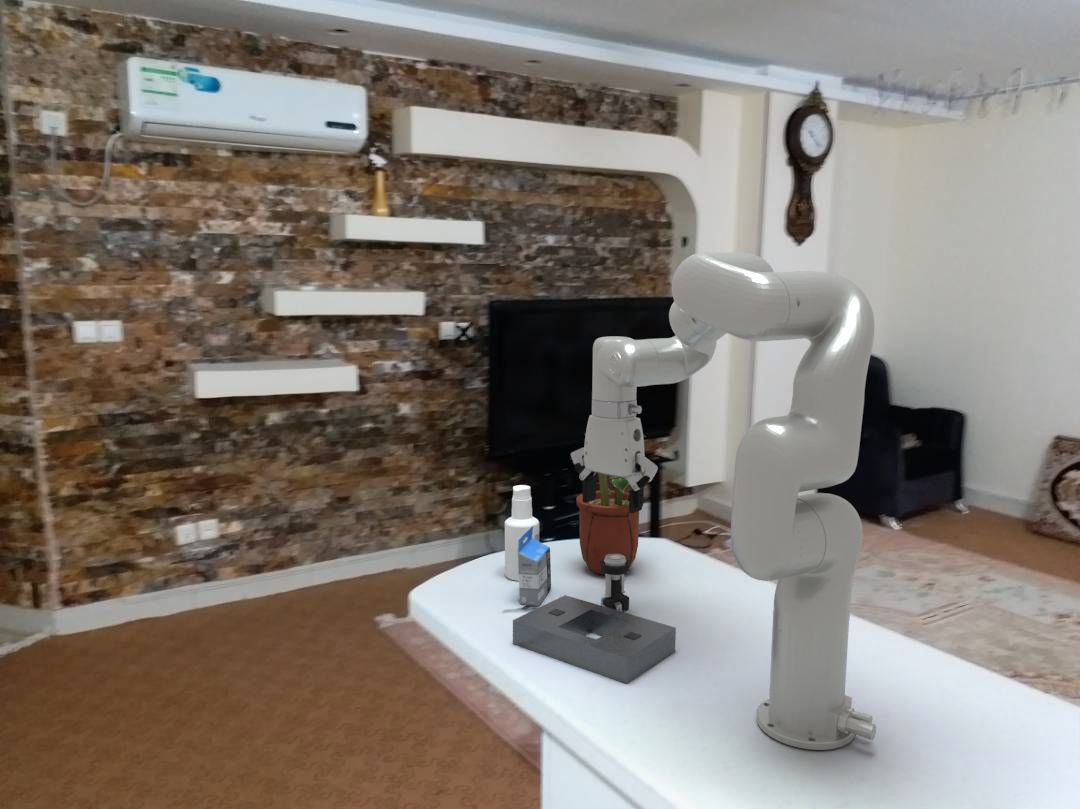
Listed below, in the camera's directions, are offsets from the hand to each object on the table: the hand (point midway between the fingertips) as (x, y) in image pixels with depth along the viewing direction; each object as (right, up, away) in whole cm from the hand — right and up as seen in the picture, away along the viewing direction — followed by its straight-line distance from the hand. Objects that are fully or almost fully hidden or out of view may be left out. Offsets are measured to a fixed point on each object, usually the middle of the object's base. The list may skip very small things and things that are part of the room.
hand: (611, 506), depth 152 cm
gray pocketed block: (-4, -21, -12) cm, 25 cm away
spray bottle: (-16, -16, +21) cm, 31 cm away
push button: (0, -19, +3) cm, 20 cm away
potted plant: (+4, -16, +23) cm, 28 cm away
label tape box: (-13, -18, +10) cm, 25 cm away
